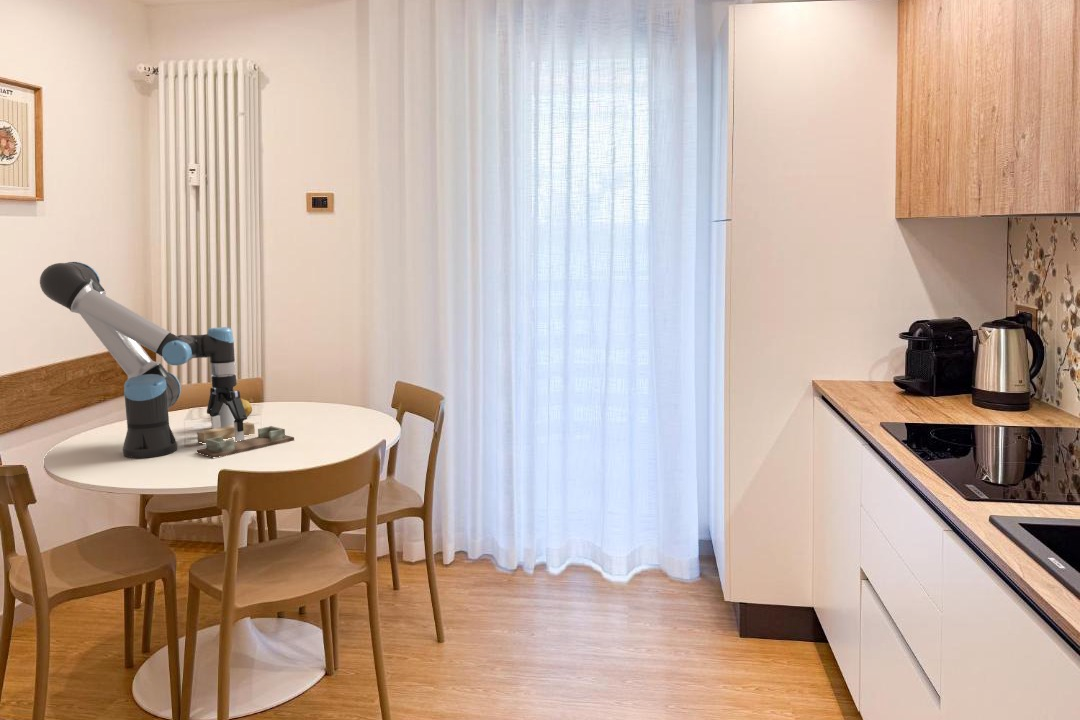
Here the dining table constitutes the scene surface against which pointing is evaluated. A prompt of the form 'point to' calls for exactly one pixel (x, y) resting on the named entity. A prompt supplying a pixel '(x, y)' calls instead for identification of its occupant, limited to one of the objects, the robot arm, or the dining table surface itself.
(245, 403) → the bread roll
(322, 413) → the dining table surface
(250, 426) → the slat
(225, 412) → the can
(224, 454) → the cradle
